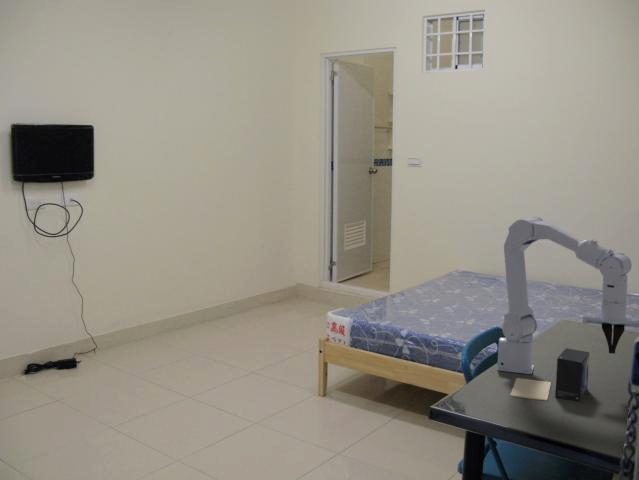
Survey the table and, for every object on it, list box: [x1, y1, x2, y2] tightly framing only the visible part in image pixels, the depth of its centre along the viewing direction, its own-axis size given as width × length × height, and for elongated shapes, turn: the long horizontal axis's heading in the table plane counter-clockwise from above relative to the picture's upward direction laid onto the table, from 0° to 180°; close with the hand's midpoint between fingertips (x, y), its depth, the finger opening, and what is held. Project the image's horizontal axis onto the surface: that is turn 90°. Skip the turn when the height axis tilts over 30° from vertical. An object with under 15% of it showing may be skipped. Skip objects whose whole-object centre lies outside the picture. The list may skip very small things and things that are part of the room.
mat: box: [509, 377, 552, 402], centre depth 170 cm, size 9×14×1 cm, turn 157°
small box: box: [554, 347, 590, 402], centre depth 166 cm, size 11×6×10 cm, turn 148°
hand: (611, 352), depth 166 cm, fingers closed
